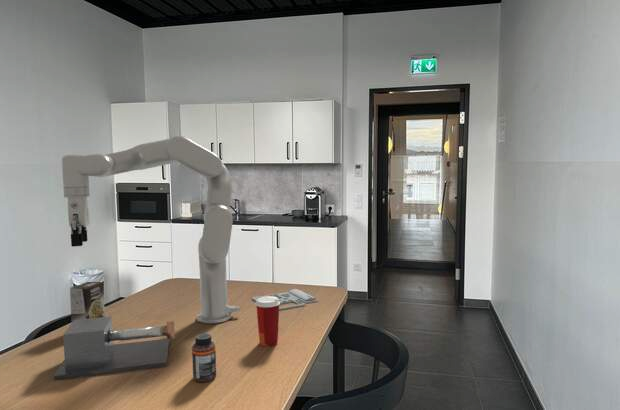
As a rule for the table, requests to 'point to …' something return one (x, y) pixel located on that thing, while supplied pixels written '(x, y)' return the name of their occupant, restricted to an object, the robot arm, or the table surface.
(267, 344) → the paper cup
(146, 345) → the grey fixture block
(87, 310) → the coffee box
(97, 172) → the robot arm
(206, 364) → the supplement bottle
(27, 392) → the table surface
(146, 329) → the shaft
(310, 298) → the office telephone
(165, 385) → the table surface
